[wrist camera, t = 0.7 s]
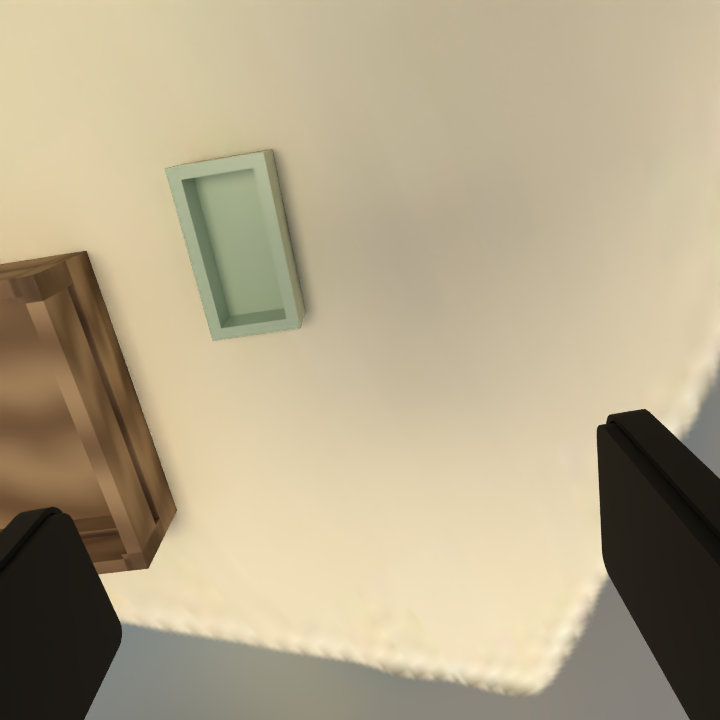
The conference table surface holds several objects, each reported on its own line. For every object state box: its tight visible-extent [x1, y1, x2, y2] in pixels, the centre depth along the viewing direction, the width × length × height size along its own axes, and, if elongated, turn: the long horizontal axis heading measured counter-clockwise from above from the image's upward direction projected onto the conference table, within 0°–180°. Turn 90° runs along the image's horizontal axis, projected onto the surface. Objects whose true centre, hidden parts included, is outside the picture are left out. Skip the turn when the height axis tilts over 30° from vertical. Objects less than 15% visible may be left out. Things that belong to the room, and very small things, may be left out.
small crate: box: [165, 149, 305, 341], centre depth 33 cm, size 10×5×3 cm, turn 9°
